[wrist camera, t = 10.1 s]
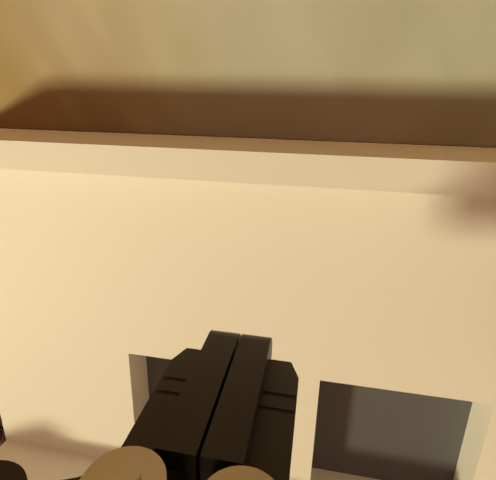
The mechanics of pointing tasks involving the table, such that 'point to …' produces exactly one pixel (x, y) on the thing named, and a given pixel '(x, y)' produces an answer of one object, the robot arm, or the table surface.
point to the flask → (2, 437)
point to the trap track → (251, 292)
